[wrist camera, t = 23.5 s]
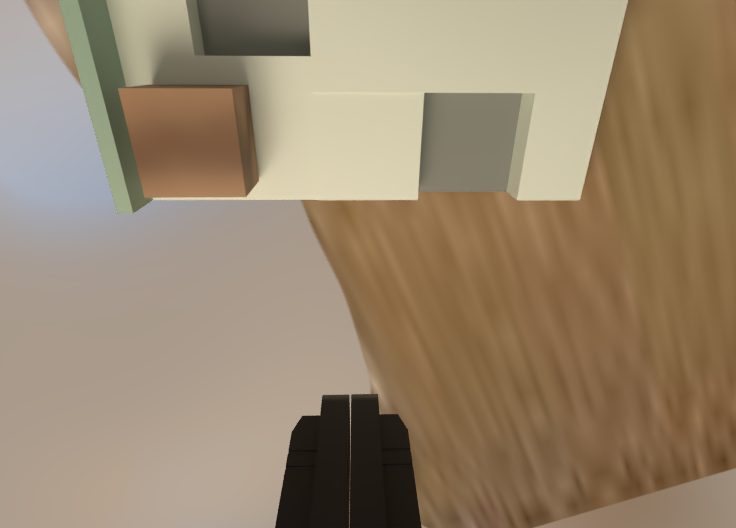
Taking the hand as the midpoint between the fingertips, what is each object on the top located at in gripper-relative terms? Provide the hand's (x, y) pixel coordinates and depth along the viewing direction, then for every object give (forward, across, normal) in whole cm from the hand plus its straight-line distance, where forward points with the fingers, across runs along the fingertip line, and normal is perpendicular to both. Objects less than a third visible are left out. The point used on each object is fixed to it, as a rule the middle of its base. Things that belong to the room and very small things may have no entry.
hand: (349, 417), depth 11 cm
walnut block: (+20, +9, -4) cm, 22 cm away
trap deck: (+22, -1, -8) cm, 23 cm away
